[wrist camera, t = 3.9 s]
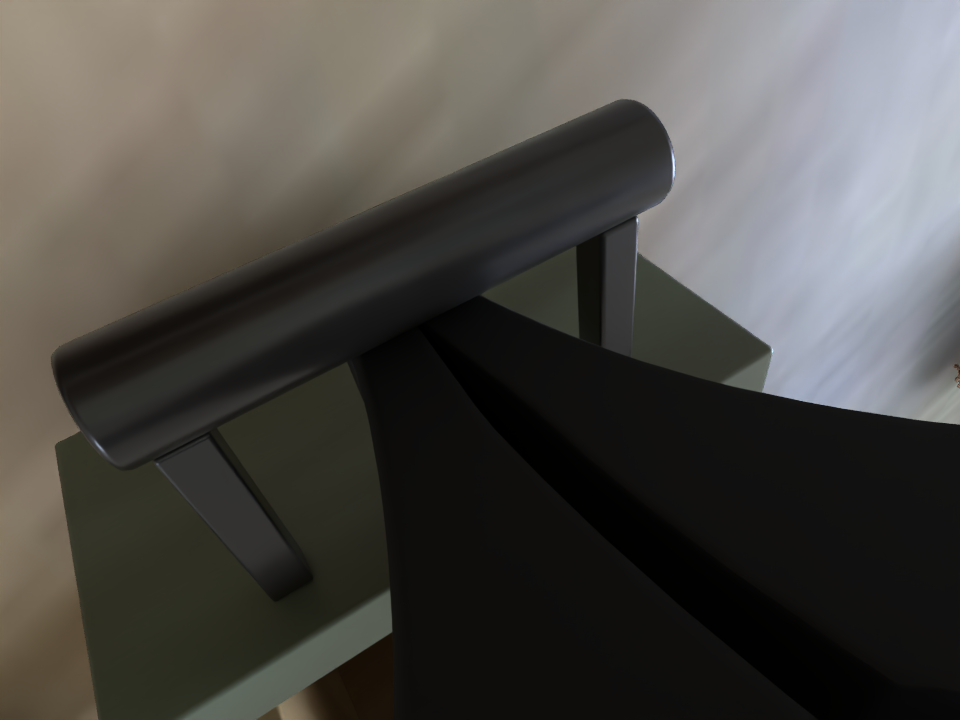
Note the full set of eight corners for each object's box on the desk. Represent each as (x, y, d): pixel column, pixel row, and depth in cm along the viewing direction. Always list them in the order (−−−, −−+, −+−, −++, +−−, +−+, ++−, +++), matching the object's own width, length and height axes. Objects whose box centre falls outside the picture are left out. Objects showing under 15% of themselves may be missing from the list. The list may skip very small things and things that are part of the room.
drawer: (-177, 219, 8) (-281, 606, 4) (552, -40, 11) (857, 59, 7) (283, 668, 20) (360, 877, 16) (577, 484, 23) (699, 623, 19)
